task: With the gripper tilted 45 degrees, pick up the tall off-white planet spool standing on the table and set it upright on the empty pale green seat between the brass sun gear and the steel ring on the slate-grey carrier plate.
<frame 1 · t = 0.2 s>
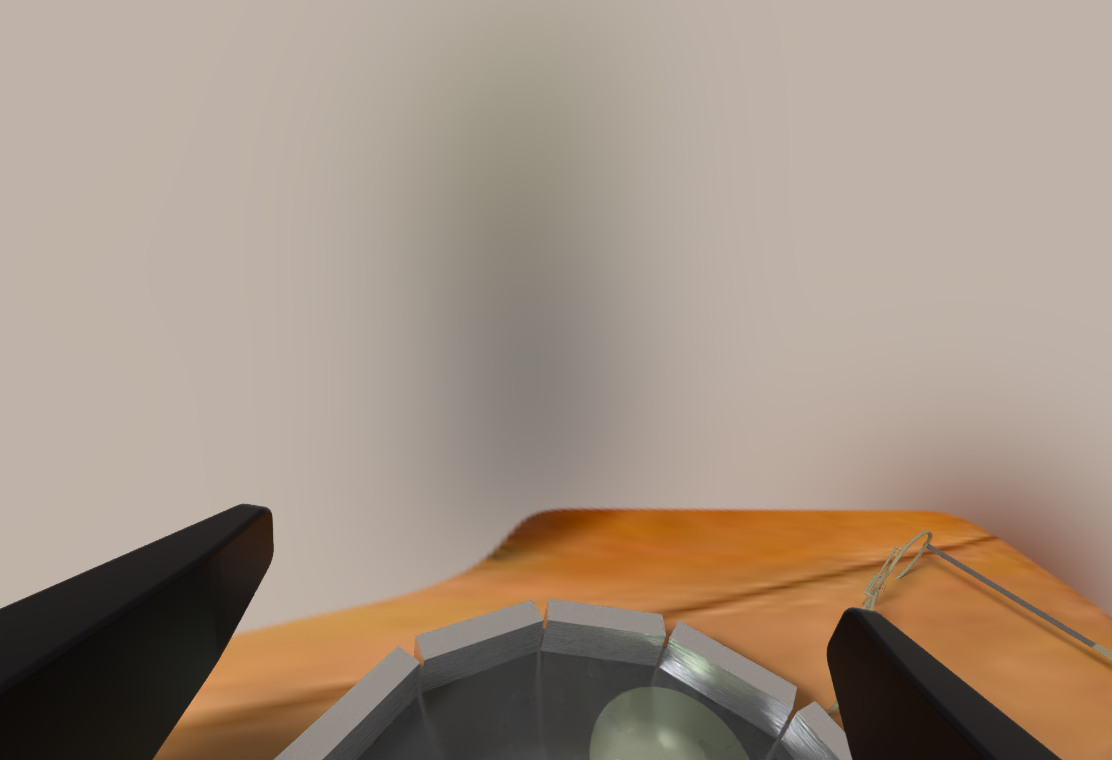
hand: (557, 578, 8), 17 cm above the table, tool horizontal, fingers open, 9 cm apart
eyeglasses: (993, 729, 28), on the table
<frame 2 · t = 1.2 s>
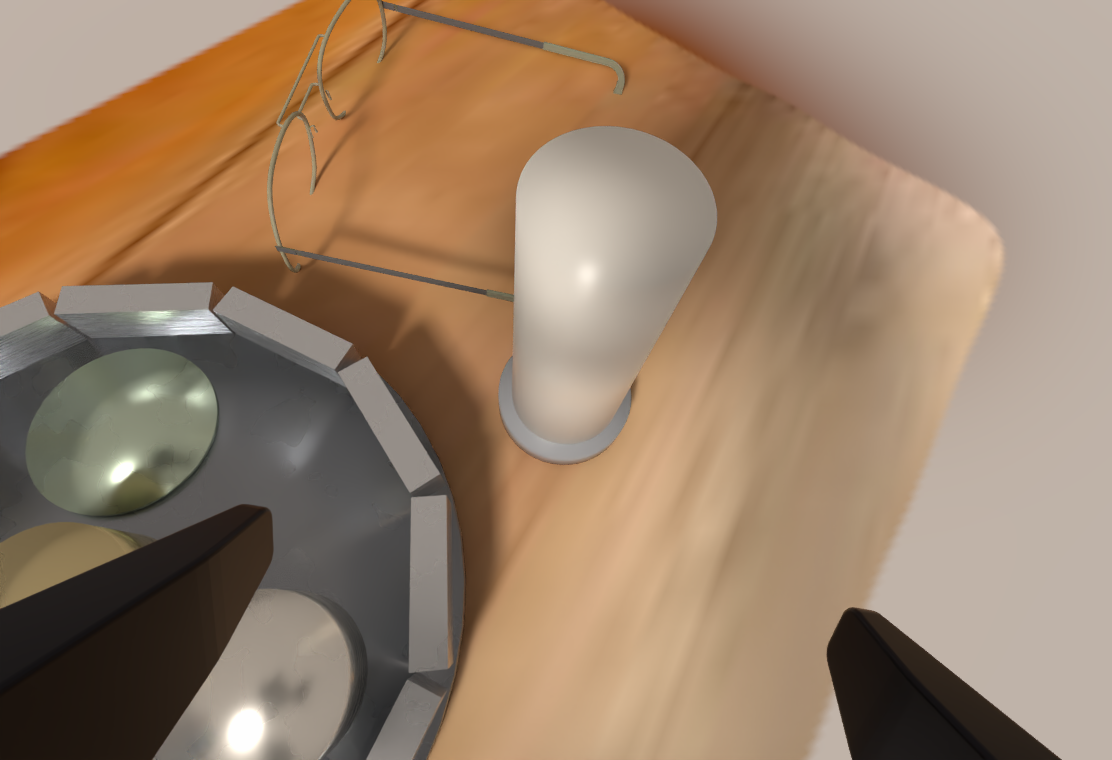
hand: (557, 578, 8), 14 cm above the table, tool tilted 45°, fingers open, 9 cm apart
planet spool: (562, 402, 24), on the table
carrier plate: (129, 608, 20), on the table
eyeglasses: (467, 184, 29), on the table
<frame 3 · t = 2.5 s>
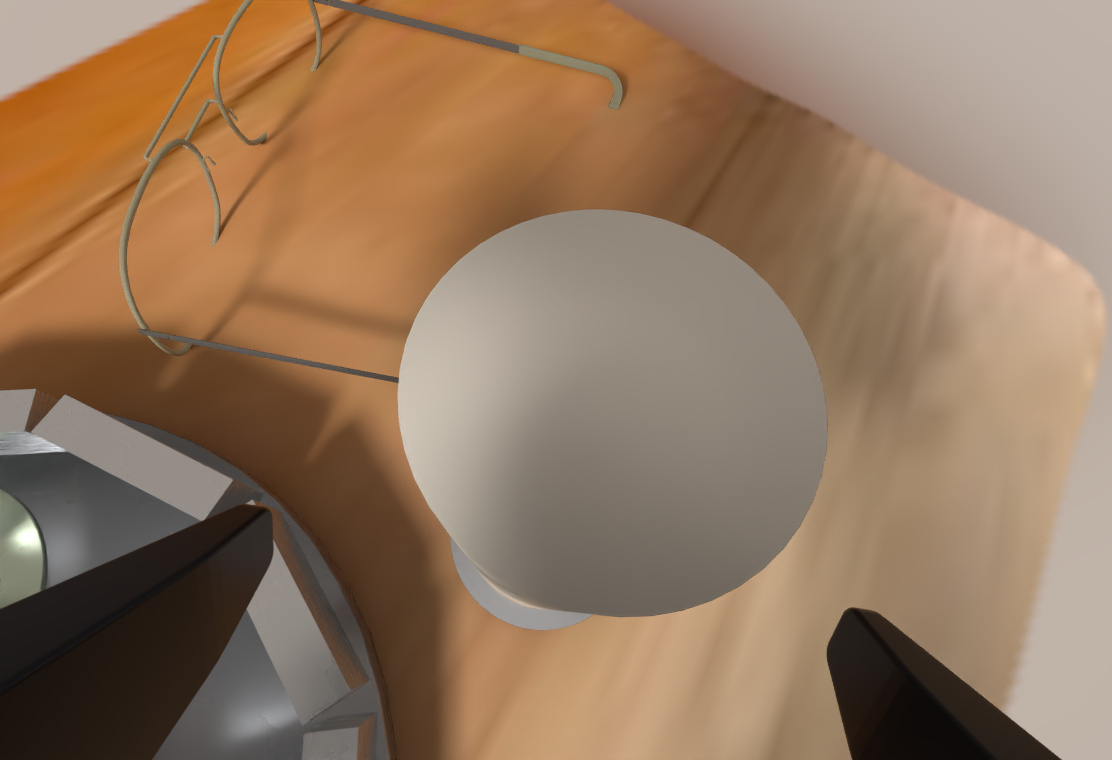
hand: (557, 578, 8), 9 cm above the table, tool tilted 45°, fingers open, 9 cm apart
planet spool: (541, 533, 18), on the table
eyeglasses: (422, 226, 23), on the table
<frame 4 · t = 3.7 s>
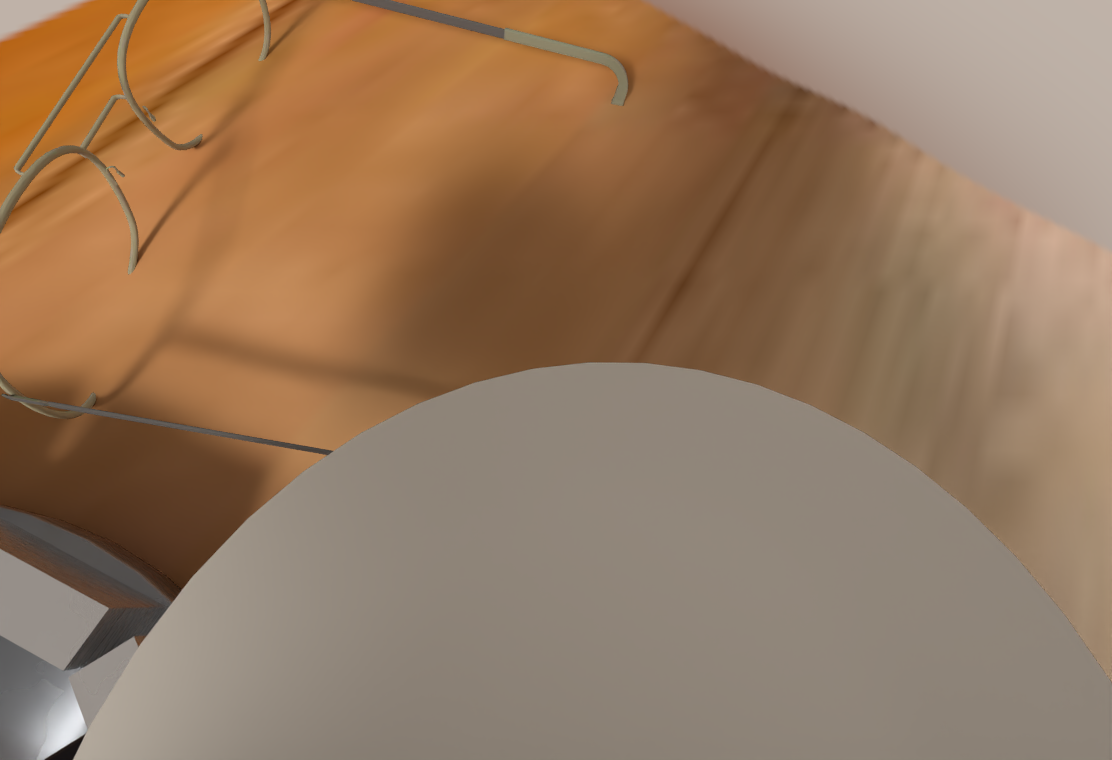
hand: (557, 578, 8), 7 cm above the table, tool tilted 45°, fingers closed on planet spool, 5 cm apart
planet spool: (527, 644, 14), on the table, touching gripper
eyeglasses: (387, 248, 19), on the table
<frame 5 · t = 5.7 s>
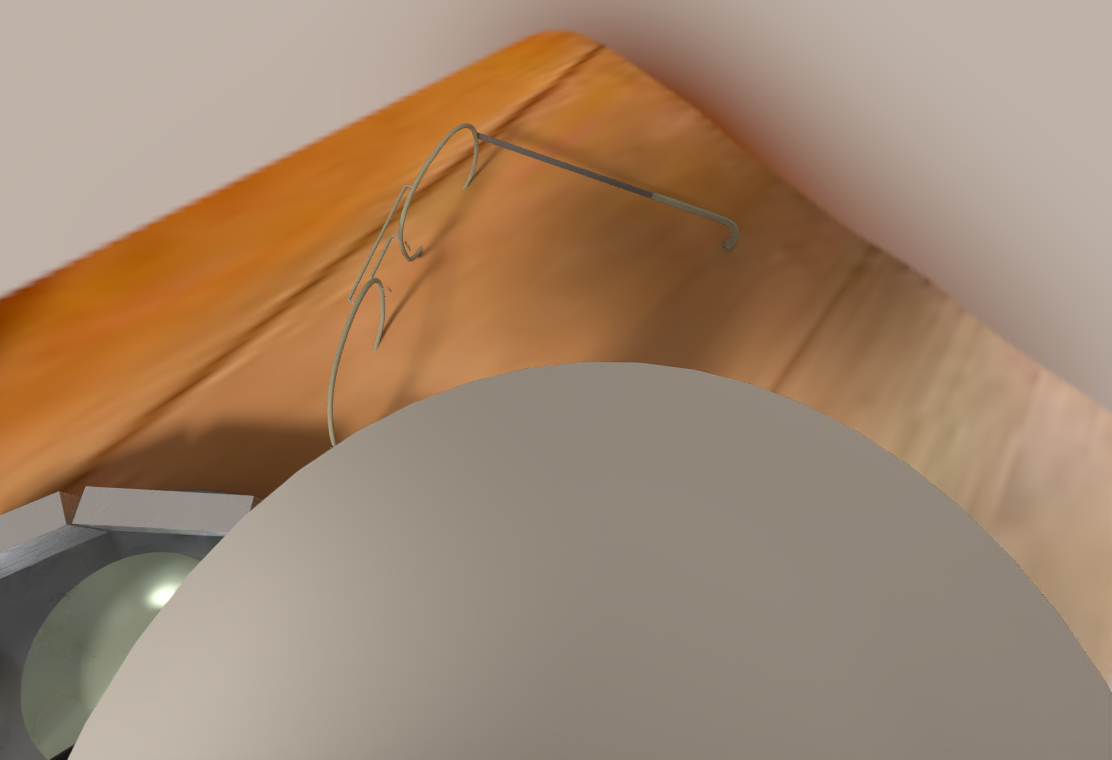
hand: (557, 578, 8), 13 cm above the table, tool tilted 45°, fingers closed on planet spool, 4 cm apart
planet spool: (529, 644, 14), point 7 cm above the table, touching gripper
eyeglasses: (548, 346, 26), on the table
when the fingers open (9 cm above the table, at t = 7.7 s): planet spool drops 1 cm, resting on carrier plate.
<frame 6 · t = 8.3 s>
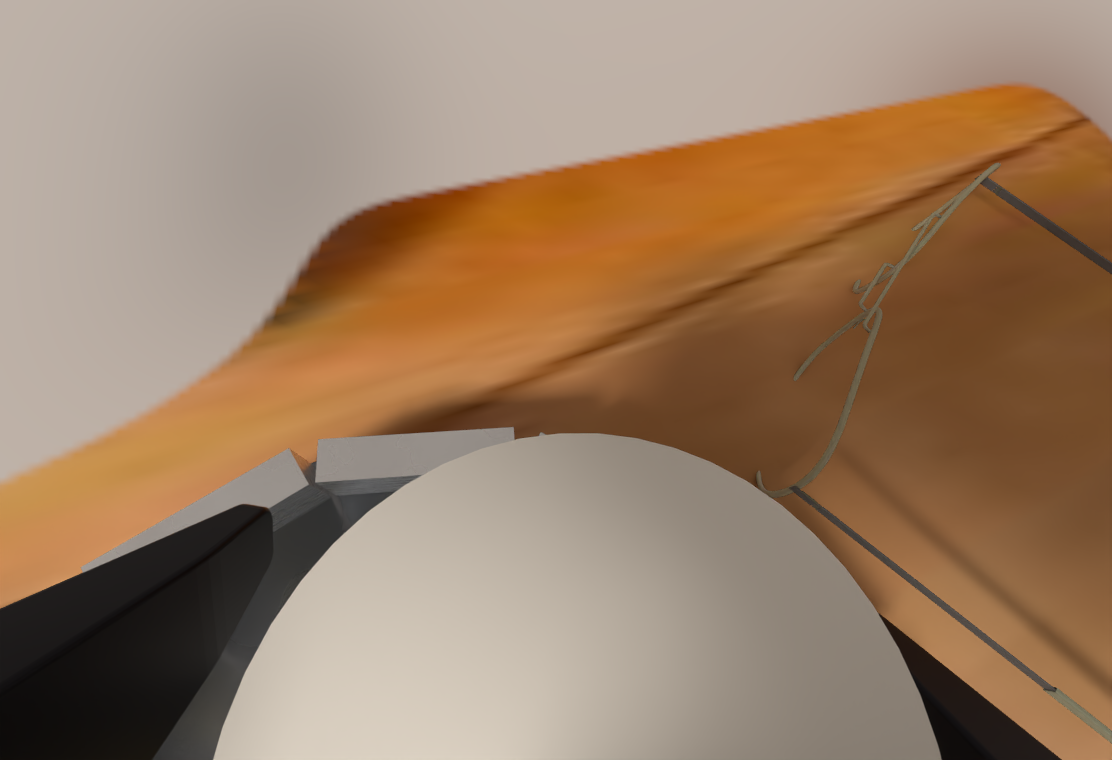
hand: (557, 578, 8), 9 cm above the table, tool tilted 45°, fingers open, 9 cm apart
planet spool: (525, 642, 15), point 1 cm above the table, touching carrier plate
eyeglasses: (983, 444, 21), on the table
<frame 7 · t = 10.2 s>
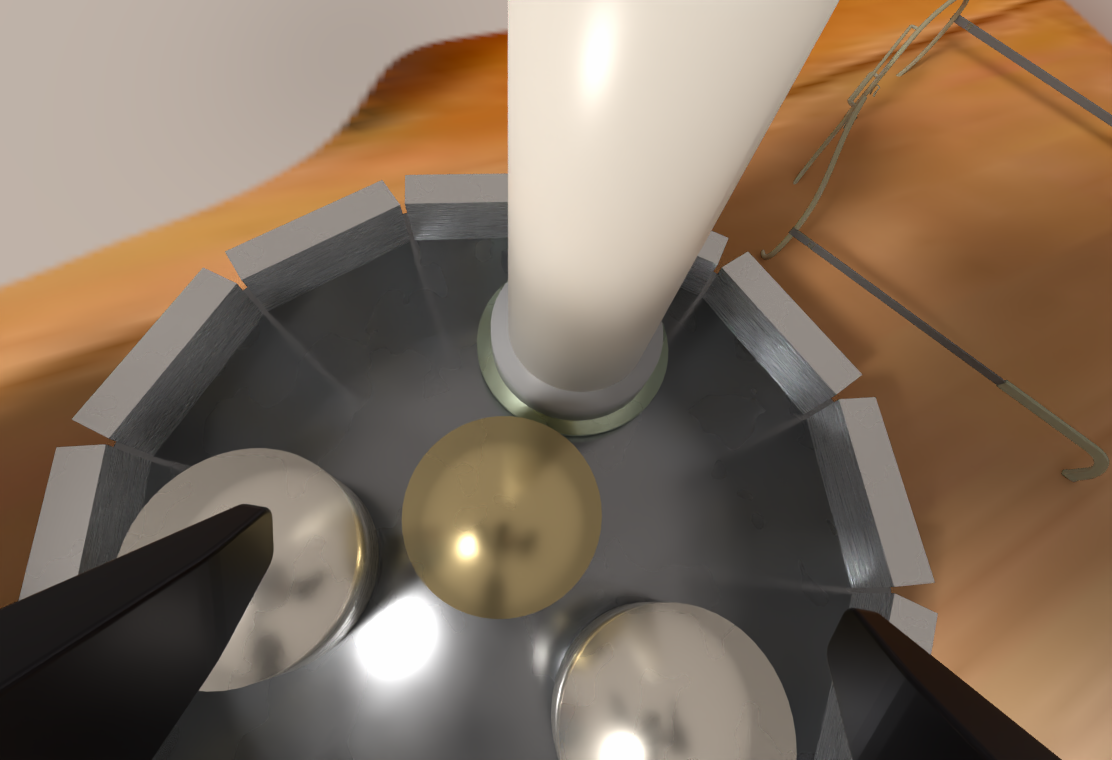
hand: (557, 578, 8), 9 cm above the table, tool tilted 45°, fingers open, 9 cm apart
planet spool: (573, 342, 19), point 1 cm above the table, touching carrier plate
carrier plate: (504, 529, 18), on the table
eyeglasses: (955, 242, 24), on the table
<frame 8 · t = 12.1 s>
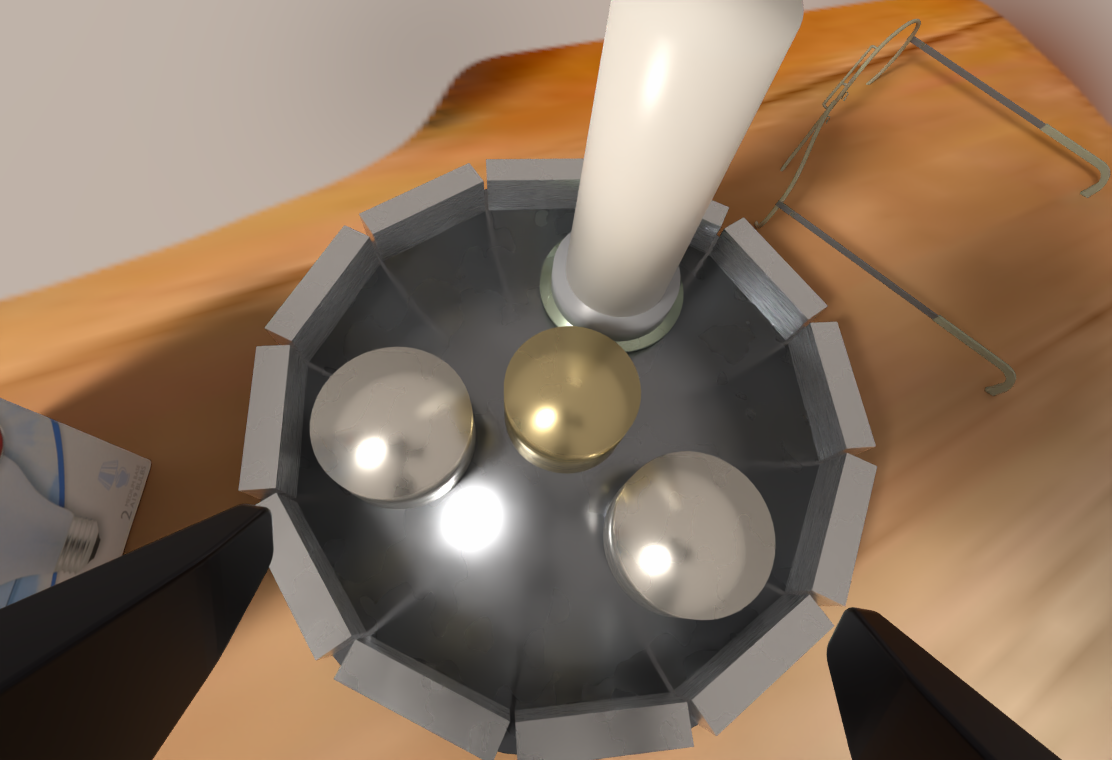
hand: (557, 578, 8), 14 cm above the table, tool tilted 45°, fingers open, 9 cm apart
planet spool: (612, 286, 25), point 1 cm above the table, touching carrier plate
carrier plate: (562, 422, 24), on the table
eyeglasses: (910, 218, 31), on the table
light bulb box: (21, 591, 20), on the table
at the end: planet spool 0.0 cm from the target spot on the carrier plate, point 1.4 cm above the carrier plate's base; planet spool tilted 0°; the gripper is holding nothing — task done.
